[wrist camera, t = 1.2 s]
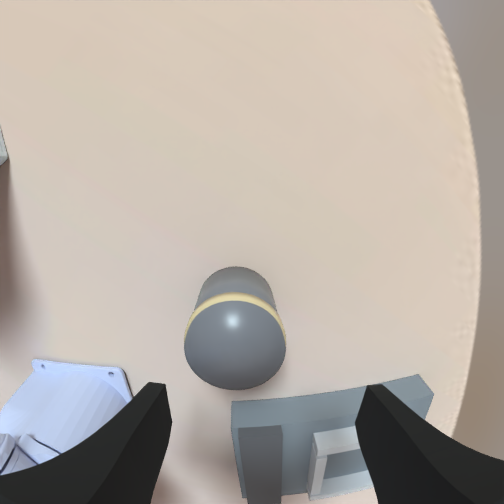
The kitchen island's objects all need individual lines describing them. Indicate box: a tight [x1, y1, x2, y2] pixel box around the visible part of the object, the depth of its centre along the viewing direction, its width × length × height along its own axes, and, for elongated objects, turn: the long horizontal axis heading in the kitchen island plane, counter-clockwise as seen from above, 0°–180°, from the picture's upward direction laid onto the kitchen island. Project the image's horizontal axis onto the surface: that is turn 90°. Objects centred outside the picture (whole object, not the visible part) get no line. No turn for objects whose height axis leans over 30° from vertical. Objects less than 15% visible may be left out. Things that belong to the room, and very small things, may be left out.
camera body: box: [231, 374, 434, 504], centre depth 21 cm, size 16×11×5 cm
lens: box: [184, 267, 286, 390], centre depth 17 cm, size 5×5×6 cm
